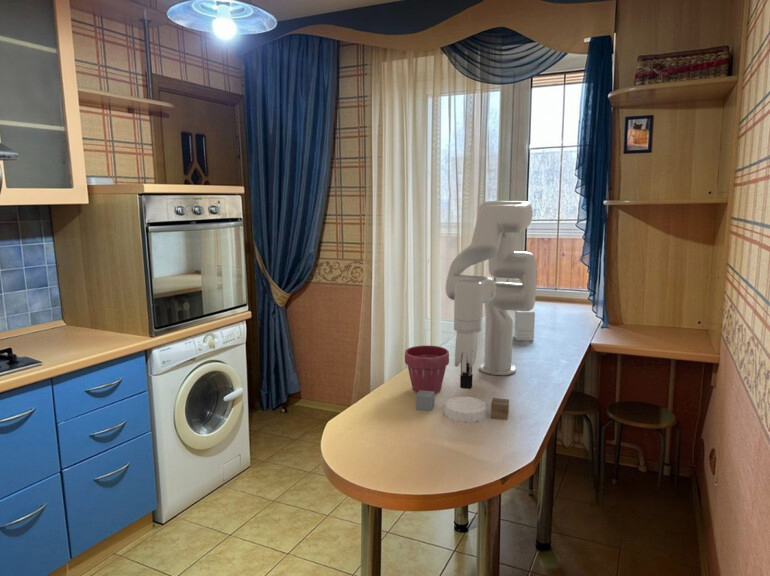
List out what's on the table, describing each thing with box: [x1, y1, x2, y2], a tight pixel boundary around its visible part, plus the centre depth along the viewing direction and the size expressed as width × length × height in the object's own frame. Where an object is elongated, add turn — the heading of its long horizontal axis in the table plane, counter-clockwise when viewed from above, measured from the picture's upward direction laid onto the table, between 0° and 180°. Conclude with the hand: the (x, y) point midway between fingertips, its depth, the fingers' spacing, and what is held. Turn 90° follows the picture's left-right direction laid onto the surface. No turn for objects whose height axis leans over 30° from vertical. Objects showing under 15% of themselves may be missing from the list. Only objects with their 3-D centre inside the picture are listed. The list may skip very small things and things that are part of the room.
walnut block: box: [490, 397, 510, 421], centre depth 153 cm, size 4×4×4 cm
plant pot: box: [404, 345, 450, 394], centre depth 174 cm, size 14×14×13 cm
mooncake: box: [443, 396, 488, 423], centre depth 155 cm, size 12×12×4 cm
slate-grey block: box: [415, 390, 435, 412], centre depth 160 cm, size 4×4×4 cm
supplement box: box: [513, 309, 536, 342], centre depth 235 cm, size 7×7×13 cm
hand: (466, 387), depth 154 cm, fingers closed
